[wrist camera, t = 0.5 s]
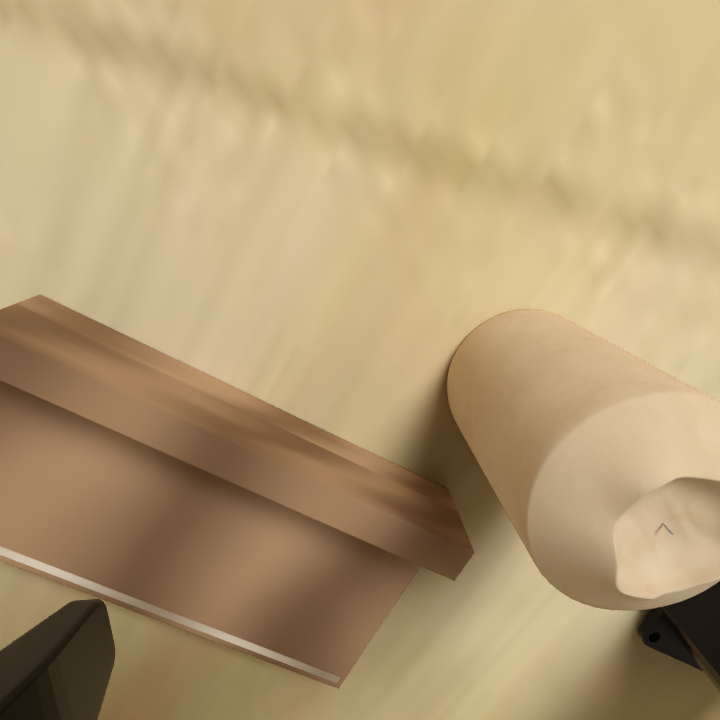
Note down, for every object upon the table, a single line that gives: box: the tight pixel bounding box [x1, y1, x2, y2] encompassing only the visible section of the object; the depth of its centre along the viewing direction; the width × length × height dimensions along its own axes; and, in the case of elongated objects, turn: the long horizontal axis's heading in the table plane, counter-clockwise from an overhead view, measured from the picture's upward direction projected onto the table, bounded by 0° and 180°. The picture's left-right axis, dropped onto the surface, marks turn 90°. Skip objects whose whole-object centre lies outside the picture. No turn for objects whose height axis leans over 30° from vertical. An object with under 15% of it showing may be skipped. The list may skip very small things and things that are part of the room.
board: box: [0, 295, 474, 688], centre depth 19 cm, size 16×9×4 cm, turn 61°
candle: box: [447, 309, 720, 610], centre depth 16 cm, size 6×6×10 cm
